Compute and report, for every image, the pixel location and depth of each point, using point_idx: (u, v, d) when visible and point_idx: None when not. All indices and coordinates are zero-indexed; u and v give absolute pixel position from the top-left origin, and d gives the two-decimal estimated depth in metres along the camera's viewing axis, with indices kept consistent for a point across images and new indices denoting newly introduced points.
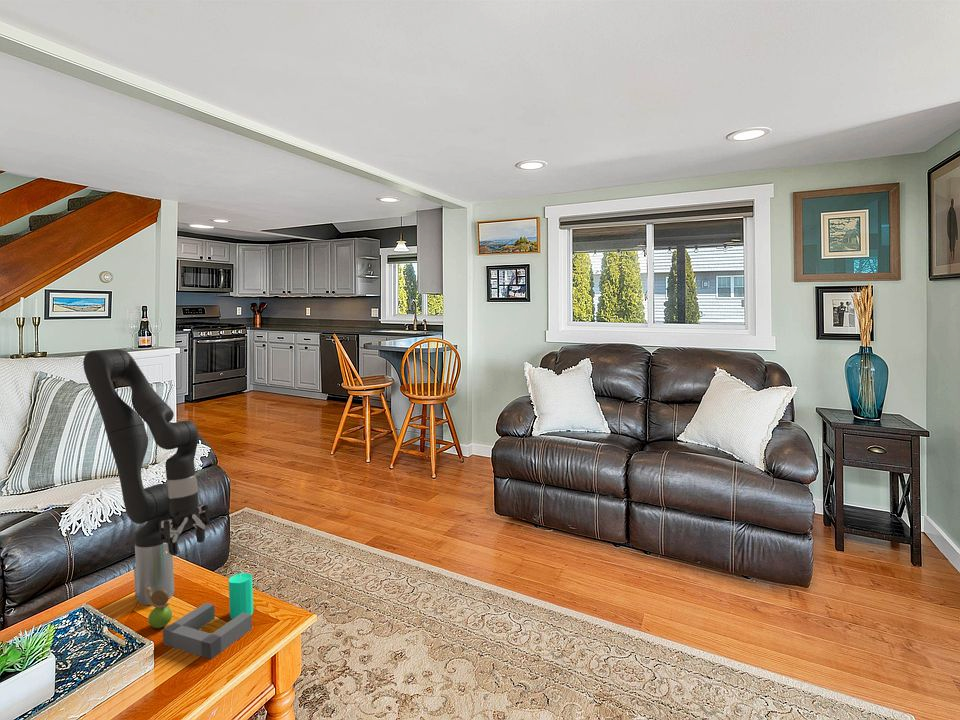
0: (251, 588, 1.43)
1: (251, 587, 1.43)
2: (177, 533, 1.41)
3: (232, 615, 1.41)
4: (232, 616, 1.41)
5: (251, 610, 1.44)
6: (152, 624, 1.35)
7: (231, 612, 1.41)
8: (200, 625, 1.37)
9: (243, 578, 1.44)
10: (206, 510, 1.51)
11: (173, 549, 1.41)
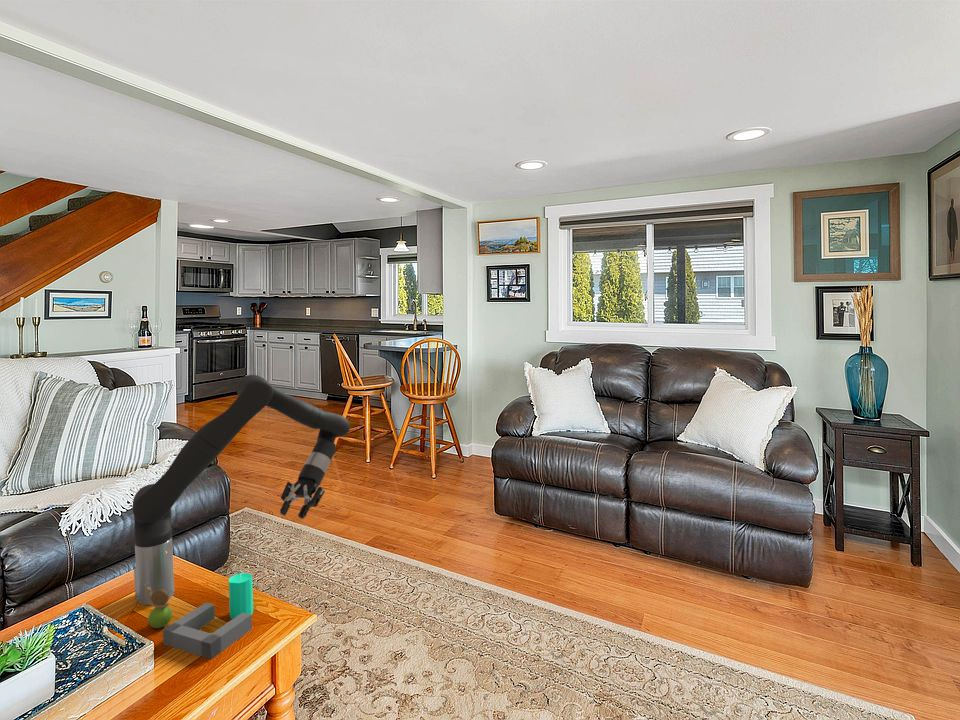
0: (251, 588, 1.43)
1: (251, 587, 1.43)
2: None
3: (232, 615, 1.41)
4: (232, 616, 1.41)
5: (251, 610, 1.44)
6: (152, 624, 1.35)
7: (231, 612, 1.41)
8: (200, 625, 1.37)
9: (243, 578, 1.44)
10: None
11: None
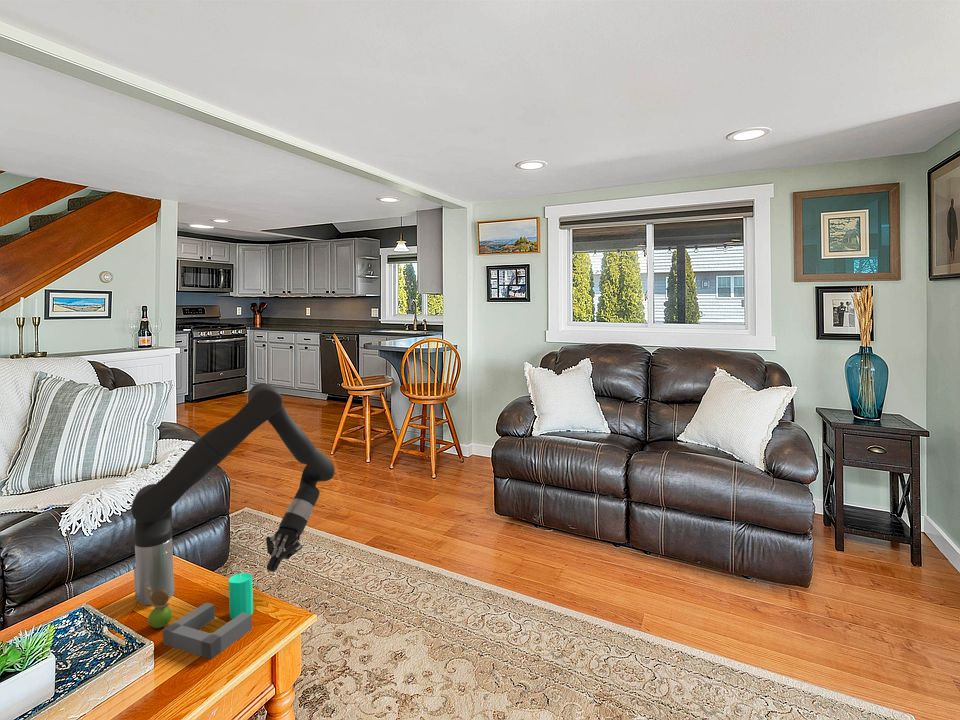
0: (251, 588, 1.43)
1: (251, 587, 1.43)
2: None
3: (232, 615, 1.41)
4: (232, 616, 1.41)
5: (251, 610, 1.44)
6: (152, 624, 1.35)
7: (231, 612, 1.41)
8: (200, 625, 1.37)
9: (243, 578, 1.44)
10: None
11: None
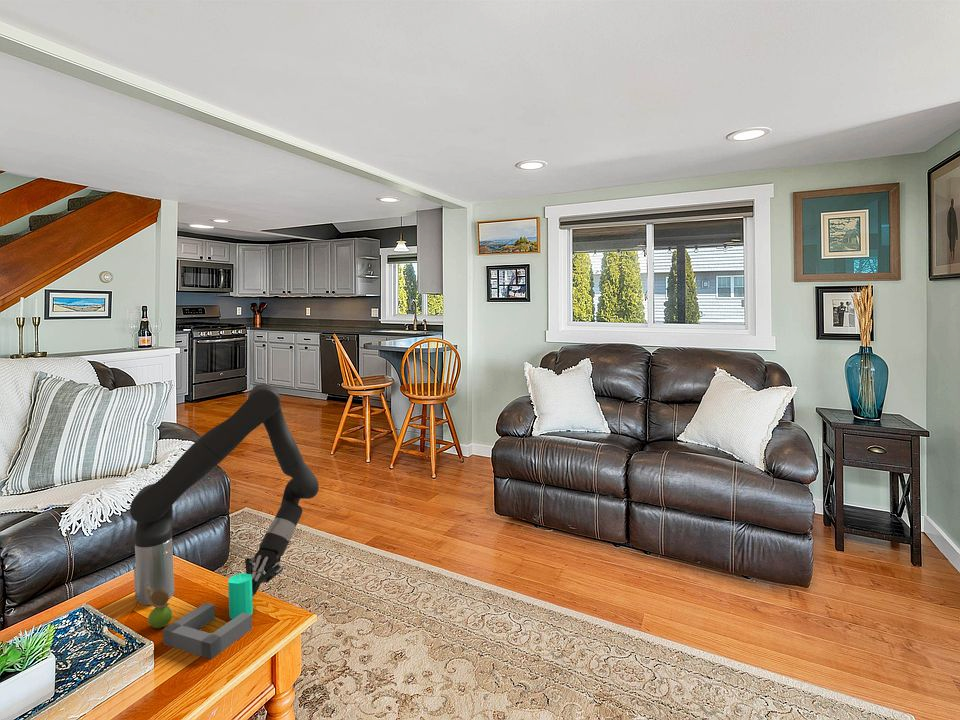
0: (251, 588, 1.43)
1: (251, 587, 1.43)
2: None
3: (231, 615, 1.41)
4: (231, 616, 1.41)
5: (251, 610, 1.43)
6: (152, 624, 1.35)
7: (230, 612, 1.41)
8: (200, 625, 1.37)
9: (242, 578, 1.44)
10: None
11: None
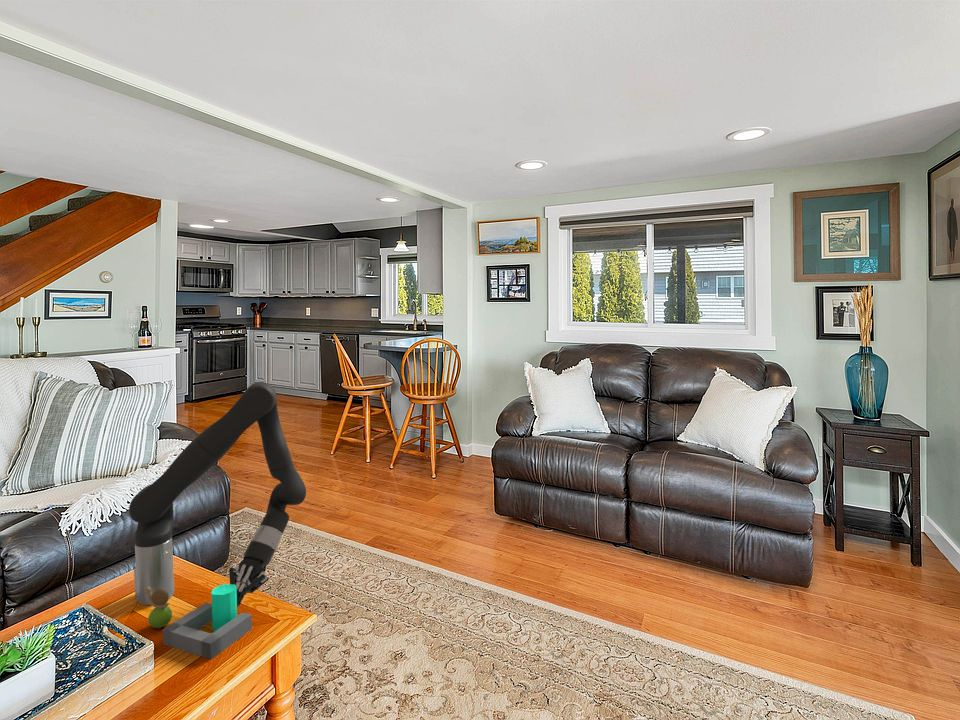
0: (235, 599, 1.38)
1: (235, 598, 1.38)
2: None
3: (216, 628, 1.35)
4: (216, 629, 1.35)
5: None
6: (152, 624, 1.35)
7: (215, 625, 1.35)
8: (200, 625, 1.37)
9: (226, 589, 1.38)
10: None
11: None
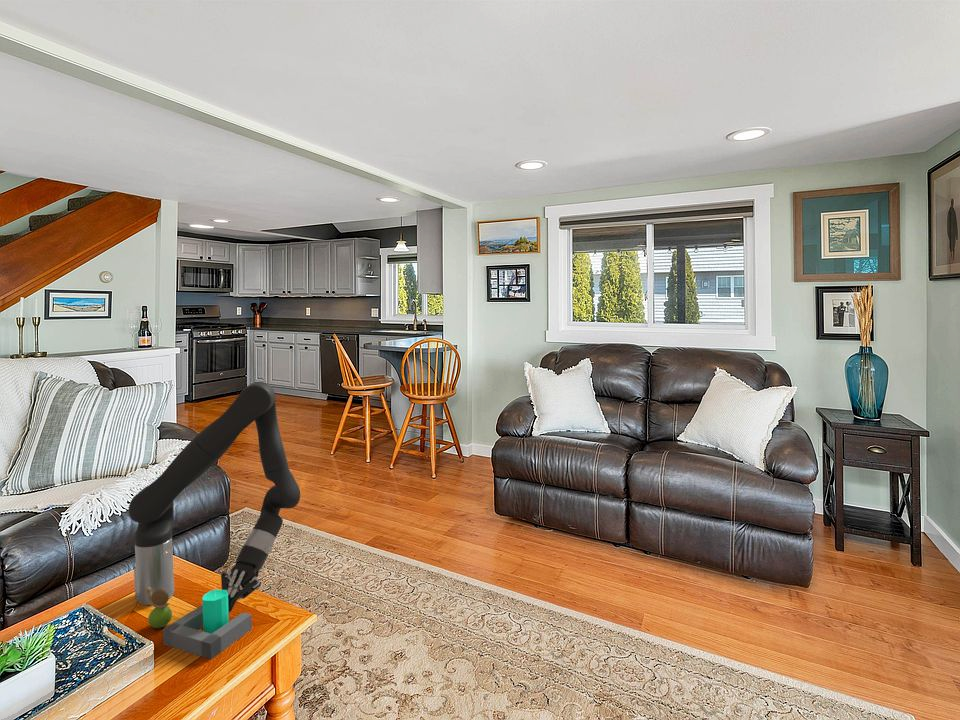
0: (227, 605, 1.35)
1: (227, 604, 1.35)
2: None
3: None
4: None
5: None
6: (152, 624, 1.35)
7: None
8: (200, 625, 1.37)
9: (217, 594, 1.35)
10: None
11: None
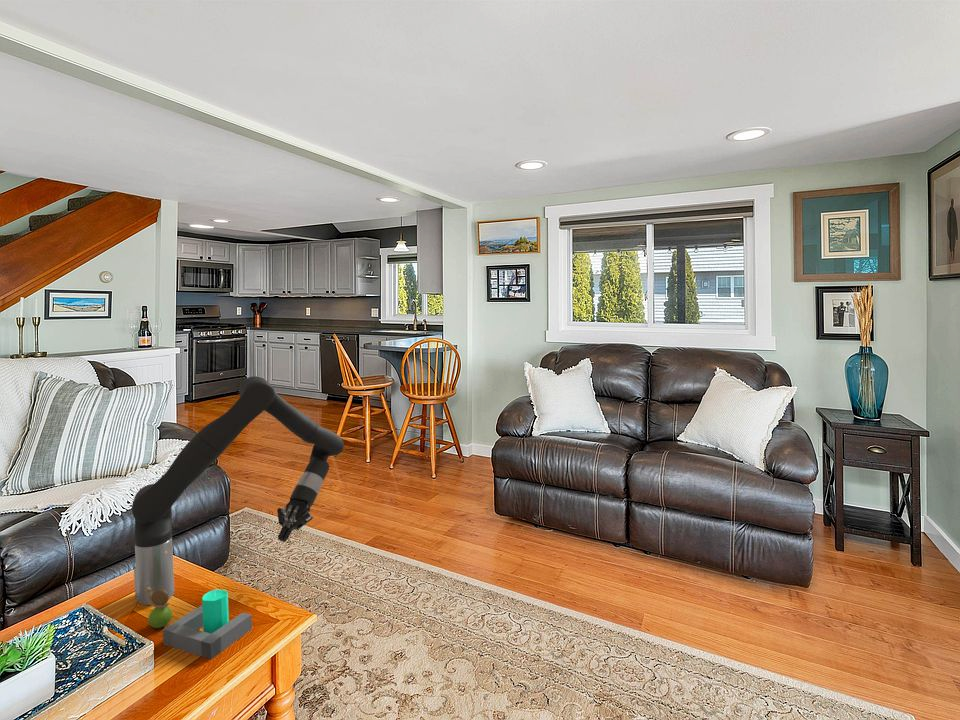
0: (227, 605, 1.35)
1: (227, 604, 1.35)
2: None
3: None
4: None
5: None
6: (152, 624, 1.35)
7: None
8: (200, 625, 1.37)
9: (217, 595, 1.35)
10: None
11: None
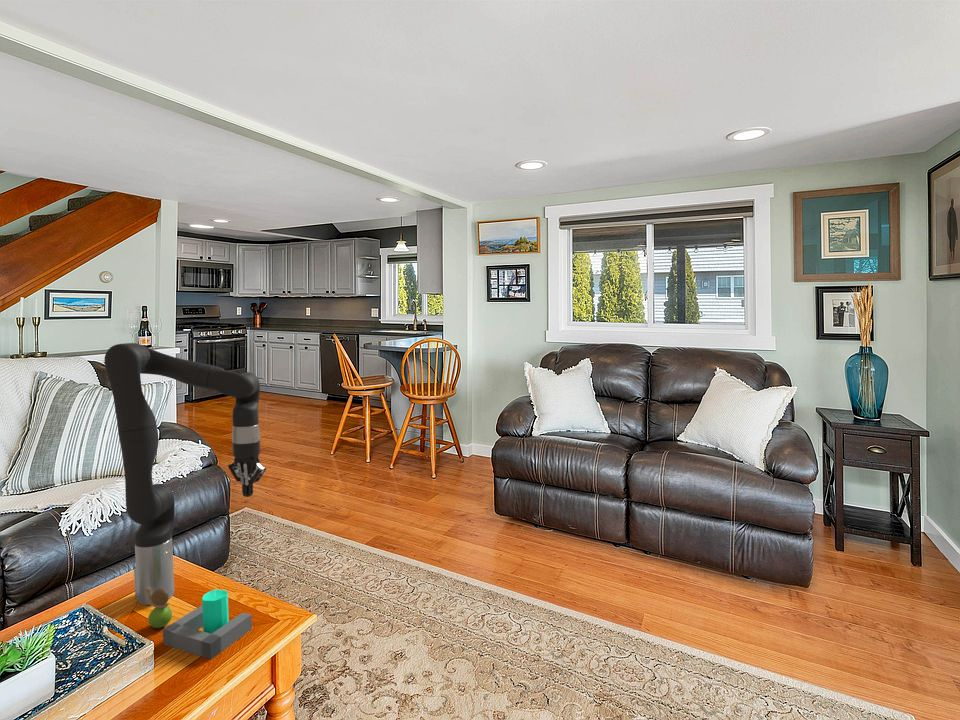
0: (227, 605, 1.35)
1: (227, 604, 1.35)
2: None
3: None
4: None
5: None
6: (152, 624, 1.35)
7: None
8: (200, 625, 1.37)
9: (217, 595, 1.35)
10: None
11: None
